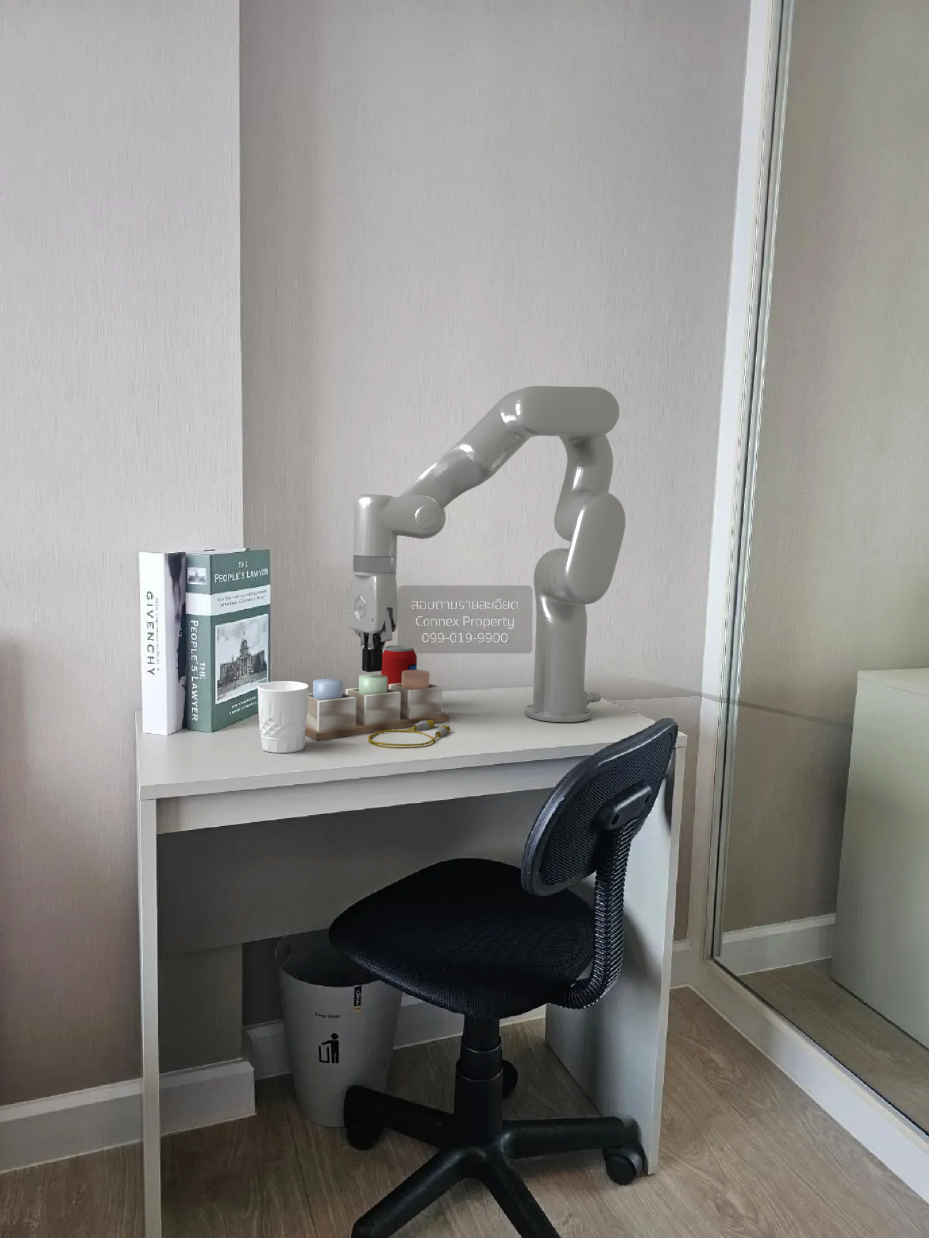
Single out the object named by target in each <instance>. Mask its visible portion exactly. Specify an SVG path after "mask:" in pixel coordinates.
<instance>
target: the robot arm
mask: <svg viewBox="0 0 929 1238" xmlns="http://www.w3.org/2000/svg"><path fill="white" fill-rule="evenodd" d="M619 417H620V405H619V403H618V400H617V399H616V397H615V396H614V394H613V393H612V392H610V391H609V390H607V389H606V388H602V387H598V386H556V385H555V386H552V385H551V386H550V385H549V386H548V385H532V386H526V387H523V388H519V389H517V390H514V391H511V392H508V393H507V394H505V395H504V396H503V397H502V398H501V399H500V400H498V401H497V402H496V403H495V404H494V405H493V407H492V408H491V409H489V411H488V412H487V413H486V414H485V415H484V416H483V417H482V418H481V419H480V420H479V421H478V422H477V423H475V425H474V426H472V428H471V429H470V430H469V431H468V432H467V433H465V435H464V436H463V437H462V438H461V439H460V440H459V441H458V442H456V444H454V445H453V446H452V447H451V448H450V449H448V450H447V451H446V452H445V453H444V454H443V455H442V456H441V457H440V458H438V460H436V461H435V462H434V463H432V465H430V467H428V468H427V469H426V470H424V471H423V473H421V474H420V475H419V476H418V477H417V478H416V479H415V480H414V481H413V482H412V483H411V484H410V485H409V486H408V487H407V488H406V489H404V491H403V492H402V493H401V494H400V495H399V496H392V495H388V494H387V495H386V494H360V495H358V496H357V497H356V498H355V500H354V507H353V508H354V509H353V544H352V545H353V551H352V552H353V553H352V554H353V555H352V557H353V558H352V573H351V577H350V580H349V581H350V582H349V588H348V595H347V596H348V597H347V605H346V606H347V607H346V608H347V609H346V624H347V626H348V628H350V629H351V630H354V631H353V632H354V634H355V635H357V636H358V637H359V638H360V648H362V649H361V650H362V651H361V654H362V655H361V670H362V671H363V672H366V673H374V672H381V670H382V657H383V652H384V650H385V647H386V646H385V645H386V642H391V641H393V633H394V632H396V630H397V628H398V619H399V615H398V614H399V602H398V601H399V600H398V598H399V596H398V585H397V565H398V564H397V563H398V562H397V560H398V559H397V558H398V536H399V537H400V536H401V537H402V536H403V537H407V538H413V539H418V540H426V539H430V538H433V537H435V536H436V535H438V534H439V533H440V532H441V531H442V530H443V528H444V527H445V524H446V520H447V519H446V517H447V515H446V511H445V508H446V507H447V506H448V505H449V504H450V503H452V502H453V501H455V500H456V499H457V498H458V497H459V496H461V495H462V494H465V492H468V491H470V490H472V489H474V488H477V487H478V486H480V485H482V484H483V483H485V482H487V481H488V480H490V479H491V478H493V476H495V474H496V473H497V472H498V471H499V470H500V469H501V468H502V467H503V466H504V465H505V464H506V463H507V462H508V461H509V459H511V457H513V455H514V454H516V452H517V451H519V450H520V449H521V447H522V446H524V444H525V443H526V442H527V441H528V440H530V438H532V437H533V438H534V437H538V436H539V437H541V436H542V437H543V436H546V437H559V439H560V441H561V443H562V444H563V446H564V449H565V453H566V460H567V461H566V462H567V463H566V469H565V474H564V478H563V483H562V486H561V488H560V489H561V490H560V493H559V497H558V500H557V501H558V502H557V504H556V509H555V513H554V518H553V519H554V520H553V524H554V529H555V531H556V533H557V534H558V536H559V537H560V538H562V539H563V540H565V541H567V542H570V543H569V547H568V548H567V547H566V548H564V547H562V548H560V547H559V548H554V549H550V550H549V551H547V552H545V553H544V554H543V555H542V556H541V557H540V558H539V560H538V561H537V562H536V566H535V568H534V572H533V587H534V597H535V611H536V612H535V614H536V615H535V616H536V617H535V618H536V620H535V625H536V626H535V643H534V644H535V647H534V669H533V670H534V671H533V673H534V674H533V695H532V703H531V704H528V705H526V706H525V707H524V715H526V717H528V718H531V719H533V720H534V719H535V720H538V721H544V722H550V723H577V722H578V723H579V722H584V721H587V720H589V719H591V717H592V710H591V709H590V708H589V707H588V705H589V704H590V703H598V702H600V701H601V700H602V697H601V693H600V692H599V691H593V692H589V693H588V691H586V690H585V677H586V676H585V675H586V674H585V673H586V655H587V652H586V651H587V635H588V634H587V633H588V616H587V607H586V605H591V604H594V603H596V602H598V601H599V600H601V599H602V598H603V597H605V594H606V593H607V592H608V590H609V587H610V586H611V583H612V580H613V577H614V574H615V570H616V566H617V563H618V558H619V554H620V551H621V548H622V547H621V546H622V544H623V539H624V535H625V531H626V513H625V509H624V507H623V505H622V502H620V500H619V499H618V498H617V497H616V496H615V495H614V494H612V493H610V492H609V491H610V486H611V480H612V475H613V471H614V470H613V469H614V456H613V455H614V454H613V451H612V447H611V444H610V441H609V438H608V436H607V434H608V433H609V432H611V431H613V429H614V428H615V427H616V426H617V423H618V421H619V419H620V418H619Z"/></svg>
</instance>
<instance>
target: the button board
mask: <svg viewBox="0 0 929 1238" xmlns="http://www.w3.org/2000/svg"><path fill="white" fill-rule="evenodd" d="M442 703H443V687H442V686H439V685H435V684H432V683H429V688H424V689H416V690H410V689H406V688H403V687H402V683H397V684H389V688H387V693H382V694H374V695H366V694H363V693H360V692H359V687H352V688H345V693H344V692H343V698H340V699H331V700H323V701H321V700H318V699H315V698H313V692H308V708H307V720H306V731H305V737H307V738H310V739H311V740H314V741H316V742H317V741H318V742H319V741H325V740H326V741H327V740H331V739H339V738H344V737H345V738H346V737H351V736H358V735H363V734H372V733H371V732H373V733H376V732H379V731H384V730H392V729H393V730H401V729H405V728H413V725H415V724H417V723H419V722H420V721H424V720H426V721H428V720H433V722H434V724H439V723H446V722H449V721H450V714H448V713H446V712H442V708H443V707H442V705H443V704H442Z"/></svg>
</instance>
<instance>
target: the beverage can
mask: <svg viewBox="0 0 929 1238" xmlns="http://www.w3.org/2000/svg"><path fill="white" fill-rule="evenodd" d="M417 662H418V655H417V653H416V652H415V649H414V646H410V645H402V644H401V645H399V644H397V645H395V644H394V645H393V644H392V645H387V646H385V647H384V649H383V657H382V670H381V671H380V675H385V676H387V677H388V681H387V688H389V684H397V683H402V671H405V670H418V669H417V667H418V663H417Z"/></svg>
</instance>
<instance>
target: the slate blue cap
mask: <svg viewBox="0 0 929 1238" xmlns="http://www.w3.org/2000/svg"><path fill="white" fill-rule="evenodd" d="M343 686H344V681H343V680H341V679H338V678H337V679H336V678H320V679H319V678H317V679H315V680H313V682H312V693H313V698H315V699H318V700H321V701H323V700H331V699H340V698H343V693H344V692H343V691H344V687H343Z"/></svg>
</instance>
